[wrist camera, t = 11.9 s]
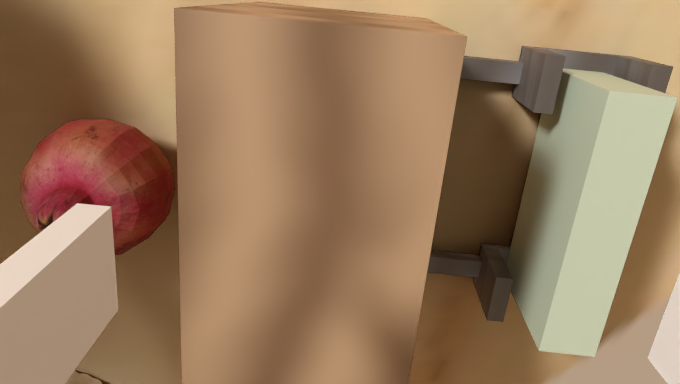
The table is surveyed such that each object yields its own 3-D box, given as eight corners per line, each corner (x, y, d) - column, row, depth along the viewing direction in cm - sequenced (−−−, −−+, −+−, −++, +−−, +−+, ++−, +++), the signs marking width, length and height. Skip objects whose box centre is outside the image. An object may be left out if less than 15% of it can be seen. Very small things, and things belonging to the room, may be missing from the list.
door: (503, 276, 36) (538, 350, 28) (551, 67, 31) (609, 90, 23) (562, 282, 36) (613, 359, 28) (620, 74, 31) (700, 99, 23)
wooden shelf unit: (248, 270, 37) (182, 418, 24) (257, 1, 31) (174, 8, 18) (561, 303, 37) (665, 473, 24) (636, 39, 31) (833, 72, 18)
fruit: (132, 79, 33) (38, 113, 24) (217, 177, 35) (161, 244, 26) (48, 152, 35) (-69, 209, 26) (132, 241, 37) (53, 324, 28)
